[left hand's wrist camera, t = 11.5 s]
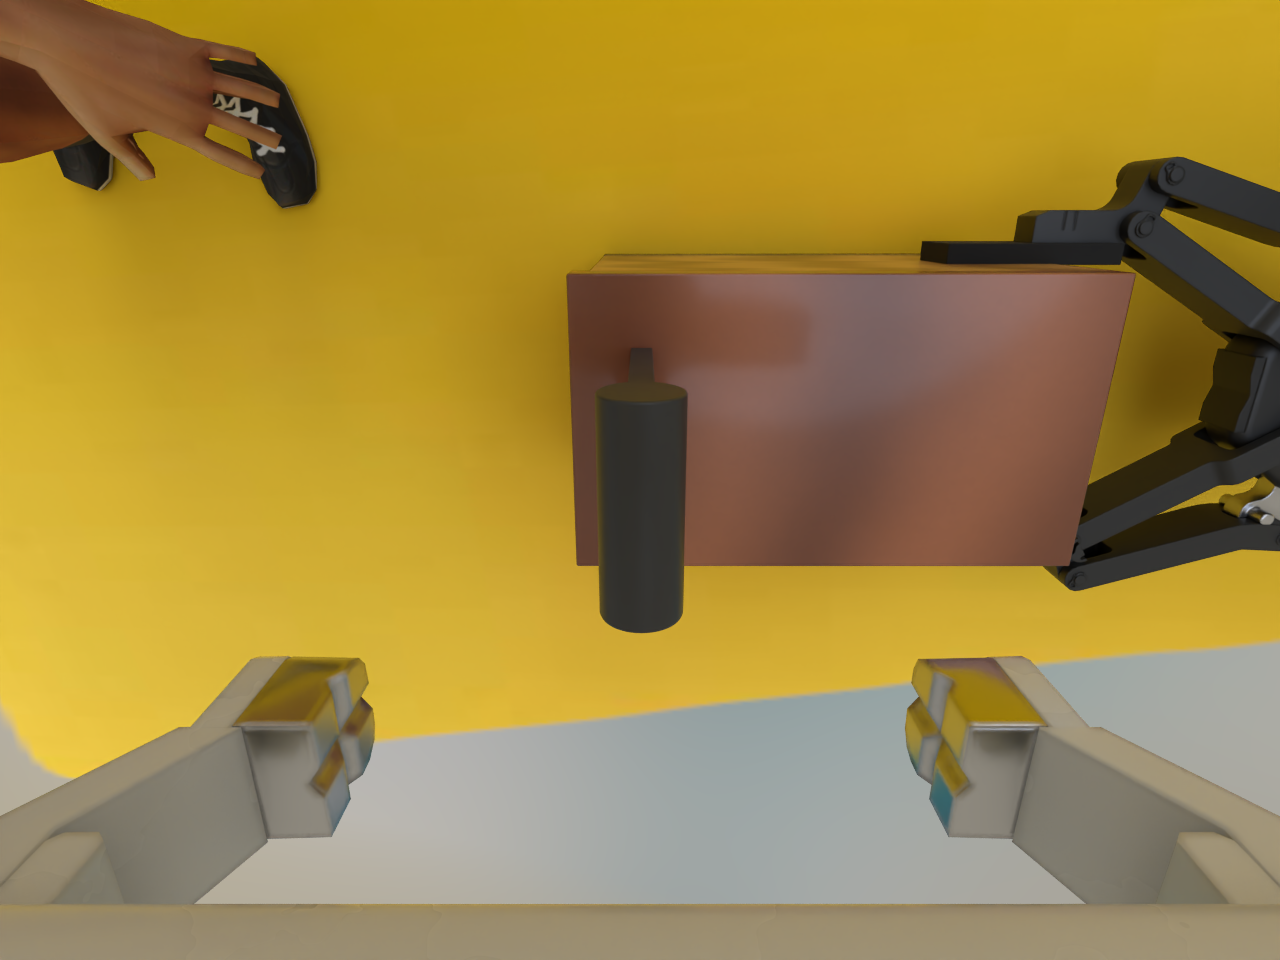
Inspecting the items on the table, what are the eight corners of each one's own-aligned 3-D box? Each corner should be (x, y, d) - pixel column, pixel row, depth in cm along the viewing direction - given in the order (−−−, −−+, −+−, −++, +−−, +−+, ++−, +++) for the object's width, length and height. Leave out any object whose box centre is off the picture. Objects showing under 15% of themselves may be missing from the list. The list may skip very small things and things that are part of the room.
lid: (579, 550, 27) (550, 706, 18) (569, 270, 24) (528, 301, 15) (1051, 551, 27) (1241, 707, 18) (1111, 270, 24) (1383, 300, 15)
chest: (608, 457, 38) (595, 550, 27) (605, 253, 34) (588, 270, 24) (935, 457, 38) (1050, 550, 27) (966, 253, 34) (1111, 269, 24)
